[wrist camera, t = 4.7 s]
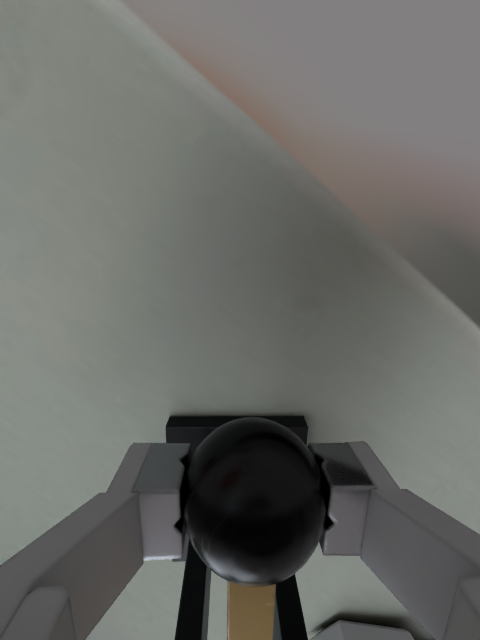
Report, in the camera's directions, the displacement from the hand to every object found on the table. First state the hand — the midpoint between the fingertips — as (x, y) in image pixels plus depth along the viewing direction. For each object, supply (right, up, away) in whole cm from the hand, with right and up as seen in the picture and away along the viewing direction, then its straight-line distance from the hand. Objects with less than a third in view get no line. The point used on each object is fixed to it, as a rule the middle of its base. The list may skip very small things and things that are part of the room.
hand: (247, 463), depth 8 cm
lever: (0, -5, +2) cm, 5 cm away
